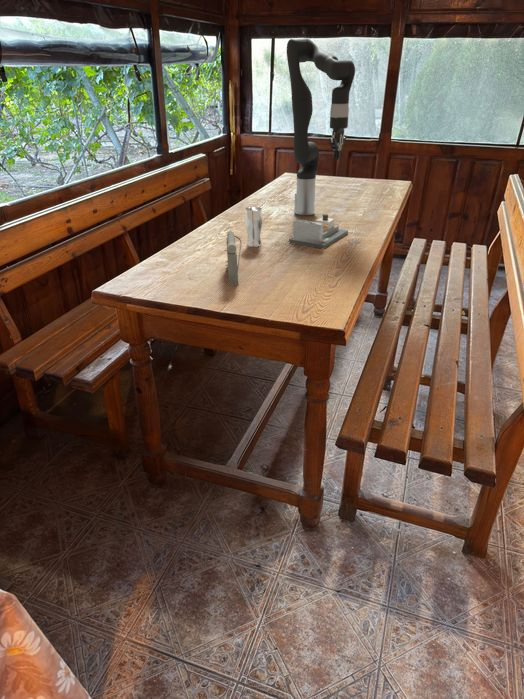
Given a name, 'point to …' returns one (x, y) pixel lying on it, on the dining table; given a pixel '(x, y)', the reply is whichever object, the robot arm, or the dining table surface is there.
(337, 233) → the tester base
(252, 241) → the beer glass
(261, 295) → the dining table surface
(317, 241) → the brushed metal plate
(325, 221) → the spring plunger
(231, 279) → the geiger counter
